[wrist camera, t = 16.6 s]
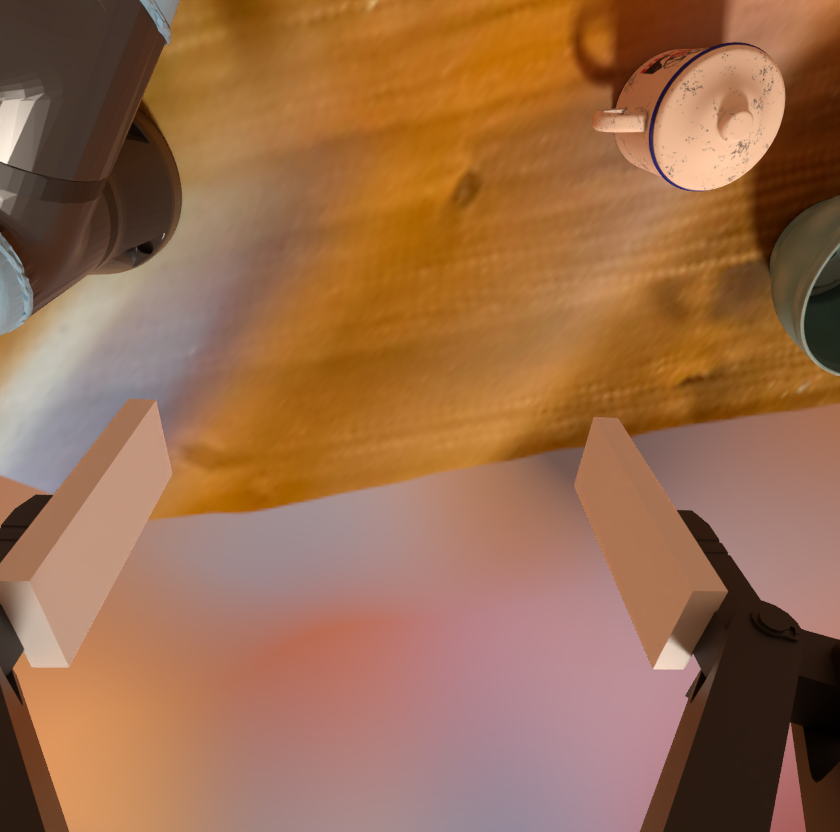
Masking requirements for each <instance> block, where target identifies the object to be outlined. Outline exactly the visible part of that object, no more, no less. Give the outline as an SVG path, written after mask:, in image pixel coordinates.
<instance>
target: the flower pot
mask: <svg viewBox="0 0 840 832" xmlns="http://www.w3.org/2000/svg"><path fill="white" fill-rule="evenodd" d="M832 255H833V256H832ZM770 276H771V279H772V282H771V289H772V299H773V303H774V307H775V311H776V313H777V316H778V318H779V320H780V322H781V324H782V326H783V327H784V329H785V330H786V332H787V333H788V334H789V336H790V337H791V338H792V339H793V341H794V342H795V343H796V344H797V345H798V346H799V347H800V348H802V349H803V351H804V352H805V353H806V355H807V356H808V357H809V358H810V359H811V360H812V361H813V362H814V363H815V364H816V365H818V366H819V367H820V368H822V369H823V370H825V371H827V372H829V373H832V374H834V375H837V376H840V195H838V196H835V197H834V198H831V199H827V200H824V201H822V202H819V203H817V204H815V205H813V206H811V207H809V208H808V209H806V210H805V211H803V212H802V213H801V214H799V215H798V216H797V217H796V218H795V219H794V220H793V221H792V222H790V224H789V225H788V226H787V227H786V228H785V229H784V231H783V232H782V233H781V235H780V236H779V238H778V240H777V242H776V244H775V246H774V248H773V251H772V254H771V258H770Z"/></svg>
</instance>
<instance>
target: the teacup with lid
mask: <svg viewBox="0 0 840 832" xmlns="http://www.w3.org/2000/svg"><path fill="white" fill-rule="evenodd" d="M784 107H785V87H784V81H783V78H782V75H781V72H780V70H779V68H778V66H777V65H776V63H775V62H774V61H773V59H772V58H771V57H770V56H769V55H768V54H767V53H766V52H764V51H763V50H761V49H760V48H758V47H756V46H753V45H750V44H746V43H736V42H733V43H725V44H720V45H717V46H714V47H711V48H698V49H678V50H671V51H667V52H664V53H661V54H659V55H656V56H655V57H653V58H651V59H650V60H648V61H647V62H645V63H644V64H643V65H642V66H640V67H639V68H638V69H637V70H636V71H635V72H634V74H633V75H632V76H631V77H630V79H629V80H628V81H627V83H626V85H625V86H624V88H623V90H622V92H621V94H620V96H619V99H618V102H617V105H616V108H613V109H602V110H599V111H597V112H595V114H594V115H593V121H592V126H593V128H594V129H595V130H598V131H603V132H614V134H615V139H616V142H617V145H618V147H619V149H620V151H621V153H622V154H623V155H624V156H625V158H626V159H627V160H628V161H630V162H631V163H632V164H634V165H636V166H637V167H640V168H642V169H644V170H647V171H649V172H652V173H654V174H656V175H659V176H661V177H663V178H664V179H665V180H666V181H667V182H669V183H670V184H671V185H673V186H675V187H677V188H680V189H683V190H687V191H707V190H712V189H716V188H719V187H722V186H724V185H727V184H729V183H731V182H733V181H735V180H736V179H738V178H739V177H741V176H742V175H744V174H745V173H746V172H747V171H749V170H750V169H751V168H752V167H753V166H754V165H755V164H756V163H757V162H758V161H759V160H760V159H761V158H762V156H763V155H764V154H765V153H766V151H767V150H768V148H769V147H770V145H771V144H772V142H773V140H774V138H775V136H776V134H777V132H778V130H779V127H780V124H781V121H782V117H783V113H784Z"/></svg>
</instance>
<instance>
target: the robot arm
mask: <svg viewBox="0 0 840 832" xmlns="http://www.w3.org/2000/svg"><path fill="white" fill-rule="evenodd" d="M179 1H180V0H0V335H2V334H4V333H8V332H11V331H12V330H15V329H17V328H18V327H19V326H21V325H23V324H24V323H25V321H26V319H27V318H28V317H30V316H31V315H33V314H34V313H35V312H37V311H38V310H40V309H41V308H42V307H44V306H45V305H47V304H48V303H49V302H51V301H52V300H53V299H55V298H56V297H58V296H59V295H60V294H62V293H63V292H65V291H66V290H67V289H69V288H70V287H71V286H73V285H74V284H76V283H77V282H78V281H80V280H81V279H83V278H84V277H85V276H87V275H99V274H115V273H120V272H124V271H128V270H131V269H133V268H136V267H138V266H140V265H142V264H144V263H145V262H147V261H148V260H150V259H151V258H152V257H153V256H155V255H156V254H157V253H158V252H160V251H161V250H162V249H163V248H164V247H165V246H166V244H167V243H168V242H169V240H170V239H171V237H172V236H173V234H174V232H175V230H176V228H177V225H178V222H179V218H180V214H181V206H182V191H181V183H180V178H179V174H178V170H177V167H176V164H175V161H174V158H173V156H172V154H171V152H170V149H169V147H168V146H167V144H166V142H165V140H164V139H163V137H162V135H161V134H160V132H159V131H158V130H157V128H156V127H155V125H154V124H153V123H152V122H151V120H150V119H149V118H148V117H147V116H146V115H145V114H144V113H143V112H142V111H141V110H140V109H139V108H138V107H139V105H140V102H141V100H142V97H143V95H144V93H145V90H146V88H147V85H148V83H149V81H150V78H151V76H152V73H153V71H154V69H155V66H156V64H157V61H158V59H159V57H160V54H161V52H162V49H163V47H164V45H168V44H169V43H170V41H171V30H170V27H171V24H172V21H173V18H174V16H175V13H176V10H177V7H178V4H179ZM171 475H172V471H171V466H170V462H169V457H168V452H167V448H166V443H165V439H164V434H163V429H162V425H161V420H160V416H159V411H158V406H157V402H156V400H144V399H128V401H127V402H126V403H125V404H124V406H123V407H122V408H121V410H120V411H119V412H118V413H117V415H116V416H115V417H114V419H113V420H112V421H111V422H110V424H109V425H108V426H107V427H106V429H105V430H104V431H103V433H102V434H101V435H100V436H99V438H98V439H97V440H96V442H95V443H94V444H93V445H92V447H91V448H90V449H89V450H88V452H87V453H86V454H85V456H84V457H83V458H82V459H81V461H80V462H79V463H78V465H77V466H76V467H75V468H74V470H73V471H72V472H71V474H70V475H69V476H68V477H67V479H66V480H65V481H64V482H63V484H62V485H61V486H60V488H59V489H58V490H57V491H56V493H55V494H54V495H35V496H33V497H32V498H30V499H29V500H27V501H26V502H24V503H23V504H21V505H20V506H18V507H17V508H15V509H14V510H13V512H12V513H11V514H10V515H9V516H8V517H7V519H6V520H5V521H4V522H3V523H2V525H1V528H0V832H69V830H68V827H67V824H66V821H65V818H64V815H63V812H62V809H61V806H60V803H59V800H58V797H57V794H56V791H55V788H54V785H53V782H52V779H51V776H50V773H49V771H48V767H47V764H46V762H45V758H44V755H43V752H42V750H41V747H40V744H39V741H38V738H37V735H36V732H35V729H34V726H33V723H32V720H31V717H30V714H29V711H28V708H27V705H26V702H25V699H24V696H23V693H22V690H21V687H20V684H19V681H18V678H17V675H16V674H15V672H14V670H13V667H14V665H15V664H16V662H17V660H18V659H19V657H20V656H21V654H22V652H23V651H24V653H25V655H26V657H27V659H28V661H29V663H30V665H31V667H70V665H71V663H72V661H73V659H74V657H75V655H76V653H77V651H78V650H79V648H80V646H81V644H82V642H83V640H84V638H85V637H86V635H87V633H88V631H89V629H90V627H91V625H92V623H93V622H94V619H95V618H96V616H97V614H98V612H99V610H100V608H101V606H102V605H103V603H104V601H105V599H106V597H107V595H108V593H109V592H110V590H111V588H112V586H113V584H114V582H115V580H116V578H117V577H118V575H119V573H120V571H121V569H122V567H123V565H124V563H125V561H126V559H127V558H128V556H129V554H130V552H131V550H132V548H133V547H134V544H135V543H136V541H137V539H138V537H139V535H140V533H141V532H142V530H143V527H144V526H145V524H146V522H147V520H148V518H149V517H150V515H151V513H152V511H153V509H154V507H155V505H156V503H157V502H158V500H159V498H160V496H161V494H162V492H163V490H164V488H165V487H166V485H167V483H168V481H169V479H170V477H171ZM574 487H575V490H576V492H577V494H578V496H579V499H580V501H581V504H582V506H583V508H584V510H585V513H586V515H587V517H588V520H589V522H590V524H591V527H592V529H593V531H594V533H595V536H596V538H597V541H598V543H599V545H600V548H601V550H602V552H603V554H604V557H605V559H606V562H607V564H608V566H609V569H610V571H611V573H612V575H613V577H614V580H615V582H616V585H617V587H618V589H619V591H620V594H621V596H622V599H623V601H624V603H625V606H626V608H627V610H628V613H629V615H630V617H631V620H632V622H633V624H634V626H635V629H636V631H637V634H638V636H639V638H640V640H641V643H642V645H643V647H644V650H645V652H646V654H647V657H648V659H649V661H650V664H651V666H652V668H653V669H685V667H686V665H687V663H688V662H689V660H690V658H691V656H692V654H694V656H695V658H696V660H697V662H698V664H699V666H700V668H701V670H700V672H699V673H698V675H697V677H696V679H695V680H694V682H693V684H692V685H691V687H690V689H689V690H688V692H687V694H686V697H688V698H689V699H688V701H687V704H686V707H685V710H684V712H683V715H682V718H681V721H680V723H679V726H678V729H677V732H676V734H675V737H674V740H673V743H672V745H671V749H670V751H669V754H668V756H667V759H666V762H665V764H664V767H663V770H662V773H661V776H660V778H659V781H658V784H657V787H656V789H655V792H654V795H653V797H652V800H651V803H650V806H649V808H648V811H647V814H646V817H645V819H644V822H643V825H642V828H641V830H640V832H770V827H771V821H772V816H773V811H774V805H775V799H776V794H777V788H778V783H779V778H780V773H781V767H782V762H783V757H784V751H785V746H786V740H787V735H788V730H789V724H790V722H791V727H792V733H793V740H794V748H795V755H796V762H797V769H798V777H799V784H800V790H801V798H802V805H803V813H804V820H805V827H806V832H840V640H838V639H835V638H831V637H827V636H824V635H820V634H816V633H813V632H809V631H806V630H803V629H801V628H800V627H799V625H798V623H797V622H796V621H795V620H794V619H793V618H792V617H791V616H790V615H789V614H788V613H786V612H785V611H783V610H782V609H780V608H778V607H777V606H775V605H772V604H770V603H767V602H765V601H761V600H760V598H759V597H758V595H757V594H756V592H755V591H754V590H753V588H752V587H751V585H750V584H749V583H748V581H747V579H746V578H745V577H744V575H743V574H742V572H741V571H740V569H739V568H738V566H737V565H736V563H735V562H734V560H733V559H732V557H731V556H730V555H728V552H727V550H726V549H725V547H724V546H723V545H722V543H720V542H719V539H718V537H717V536H716V534H715V533H714V532H713V530H712V528H711V527H710V525H709V524H708V523H706V522H705V521H704V520H703V519H702V518H700V517H699V516H698V515H697V514H695V513H694V512H693V511H689V510H688V511H687V510H676V509H675V507H674V506H673V504H672V502H671V501H670V499H669V498H668V496H667V495H666V493H665V491H664V490H663V488H662V487H661V485H660V484H659V482H658V481H657V479H656V477H655V476H654V474H653V473H652V471H651V469H650V468H649V466H648V465H647V463H646V462H645V460H644V458H643V457H642V455H641V454H640V452H639V451H638V449H637V447H636V446H635V444H634V443H633V441H632V440H631V438H630V436H629V435H628V433H627V432H626V430H625V429H624V427H623V425H622V424H621V422H620V421H619V419H618V418H602V417H594V419H593V422H592V425H591V429H590V432H589V436H588V439H587V443H586V446H585V449H584V453H583V456H582V460H581V463H580V467H579V470H578V473H577V477H576V480H575V484H574Z"/></svg>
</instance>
